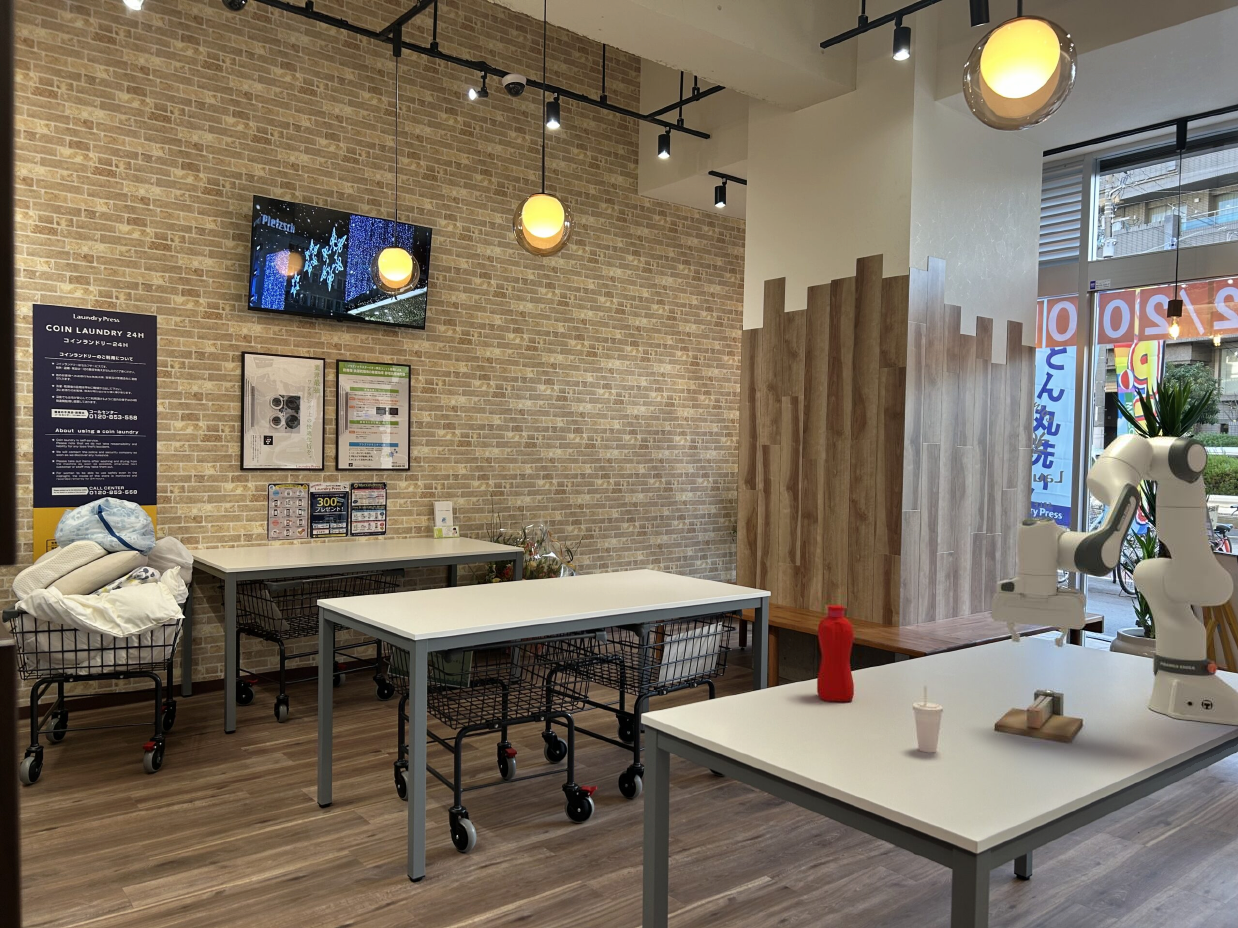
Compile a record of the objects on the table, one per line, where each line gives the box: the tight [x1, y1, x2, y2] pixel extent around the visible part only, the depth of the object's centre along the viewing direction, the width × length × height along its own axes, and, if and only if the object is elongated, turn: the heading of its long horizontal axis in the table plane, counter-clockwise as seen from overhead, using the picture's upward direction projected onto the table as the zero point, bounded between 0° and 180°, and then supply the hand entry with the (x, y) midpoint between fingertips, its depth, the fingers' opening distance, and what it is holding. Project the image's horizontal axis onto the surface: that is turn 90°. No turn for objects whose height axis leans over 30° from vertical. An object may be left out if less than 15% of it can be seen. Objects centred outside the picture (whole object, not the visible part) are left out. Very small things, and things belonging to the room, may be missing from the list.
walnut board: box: [994, 707, 1084, 744], centre depth 212 cm, size 16×18×2 cm
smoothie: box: [912, 685, 944, 753], centre depth 194 cm, size 6×6×14 cm
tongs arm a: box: [1033, 697, 1053, 728], centre depth 212 cm, size 16×1×4 cm, turn 143°
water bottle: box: [816, 604, 855, 703], centre depth 238 cm, size 9×11×25 cm
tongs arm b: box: [1026, 695, 1046, 727], centre depth 212 cm, size 16×1×4 cm, turn 144°
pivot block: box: [1033, 689, 1065, 716], centre depth 221 cm, size 6×4×7 cm, turn 54°
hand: (1037, 643), depth 209 cm, fingers open, 8 cm apart
